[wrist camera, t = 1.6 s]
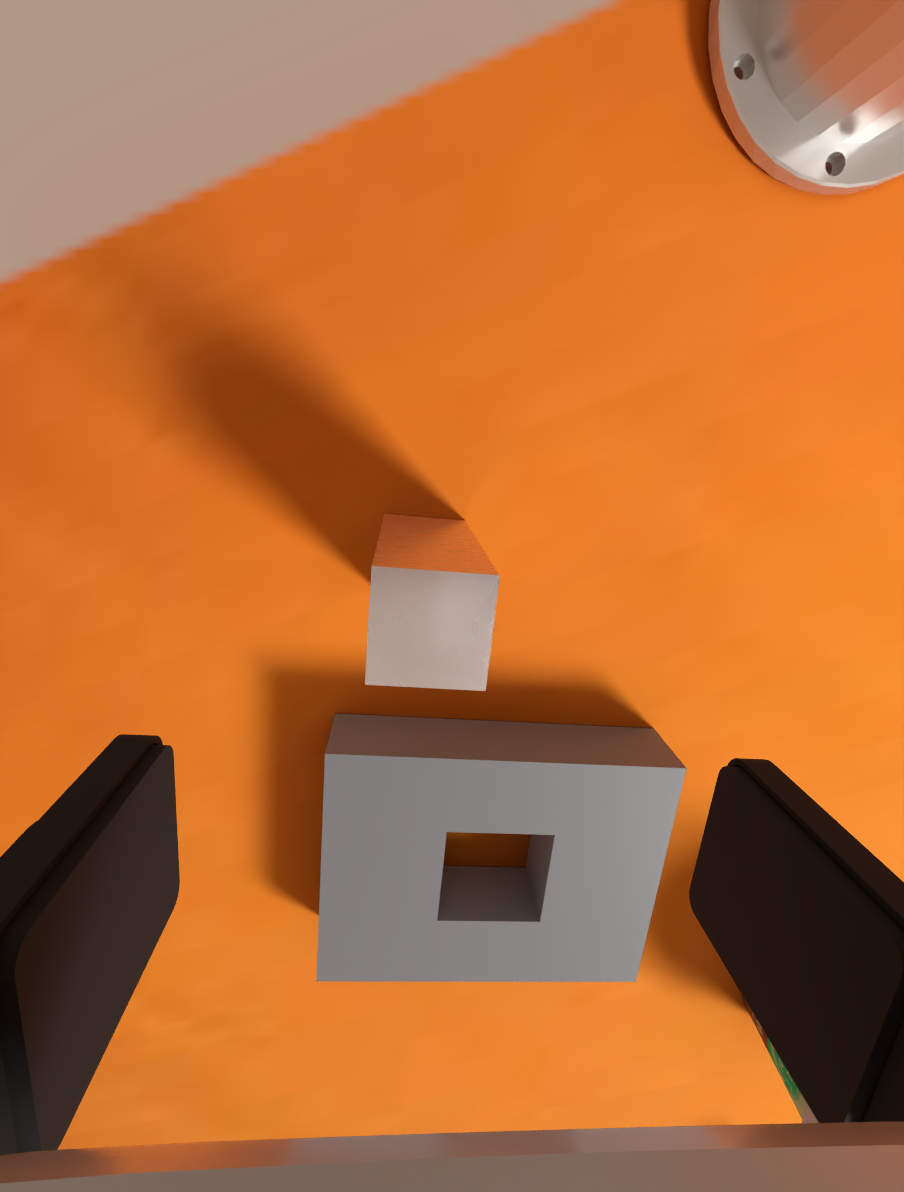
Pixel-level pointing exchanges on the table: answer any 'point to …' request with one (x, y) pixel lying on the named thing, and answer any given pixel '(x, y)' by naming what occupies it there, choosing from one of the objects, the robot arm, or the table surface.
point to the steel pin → (430, 606)
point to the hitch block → (491, 805)
